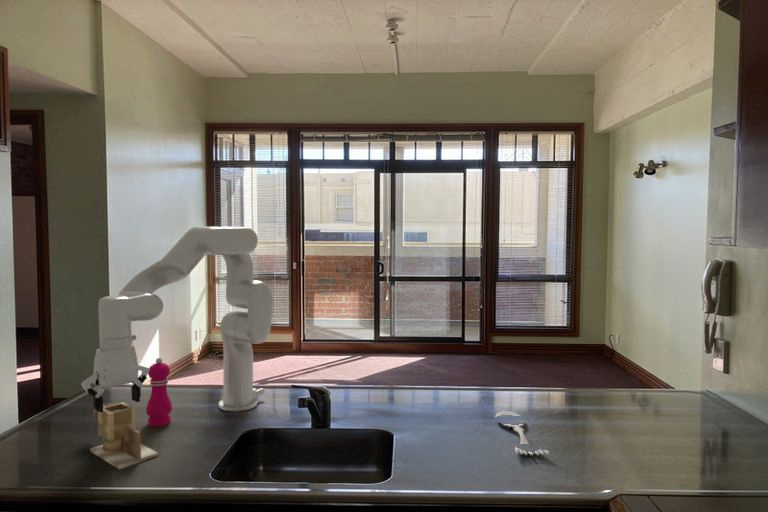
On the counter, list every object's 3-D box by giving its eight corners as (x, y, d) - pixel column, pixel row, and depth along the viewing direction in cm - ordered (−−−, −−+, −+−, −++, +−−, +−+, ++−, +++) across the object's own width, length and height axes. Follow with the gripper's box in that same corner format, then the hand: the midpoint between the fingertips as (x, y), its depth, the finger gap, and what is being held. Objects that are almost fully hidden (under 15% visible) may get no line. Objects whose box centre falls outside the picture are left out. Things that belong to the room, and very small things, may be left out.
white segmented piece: (515, 463, 137) (516, 450, 137) (491, 418, 169) (492, 407, 169) (550, 464, 137) (550, 451, 137) (519, 418, 169) (520, 408, 169)
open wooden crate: (82, 425, 145) (82, 400, 145) (106, 418, 151) (106, 394, 150) (110, 440, 136) (109, 414, 135) (135, 433, 141) (135, 407, 140)
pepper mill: (162, 428, 155) (162, 361, 154) (141, 426, 156) (140, 360, 155) (177, 419, 162) (176, 355, 161) (156, 417, 164) (155, 354, 162)
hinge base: (90, 451, 139) (89, 413, 138) (127, 439, 147) (127, 403, 146) (119, 469, 129) (118, 428, 128) (158, 455, 137) (157, 417, 136)
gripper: (140, 334, 148) (142, 394, 149) (74, 346, 134) (77, 412, 136) (154, 338, 143) (156, 400, 145) (87, 351, 130) (90, 419, 131)
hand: (117, 405), depth 140 cm, fingers open, 9 cm apart
